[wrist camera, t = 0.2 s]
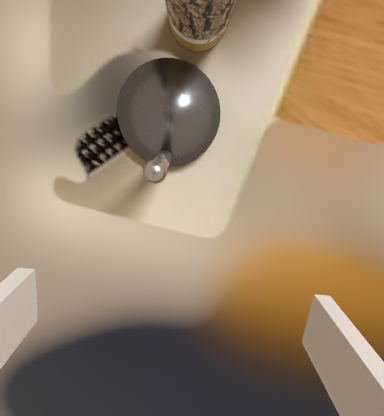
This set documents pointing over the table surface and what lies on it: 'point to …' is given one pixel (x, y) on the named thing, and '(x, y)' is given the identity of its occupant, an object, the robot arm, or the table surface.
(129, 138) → the stand
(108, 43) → the table surface
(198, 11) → the paper tube
